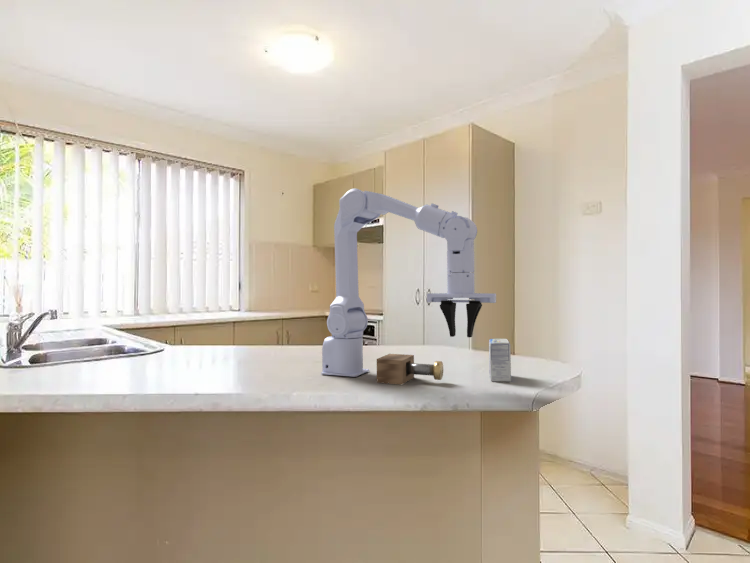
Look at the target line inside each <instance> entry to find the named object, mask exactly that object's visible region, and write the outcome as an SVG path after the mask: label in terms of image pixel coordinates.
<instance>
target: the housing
mask: <svg viewBox="0 0 750 563" xmlns="http://www.w3.org/2000/svg"><path fill="white" fill-rule="evenodd" d="M406 363H415V354H405V353H404V354H399V353H388V354H385V355H384V356H381V357H378V358H376V383H377V384H388V383H389V385H399V386H400V385H402V386H403V385H404V384H406V383H408V382H410V381H411V380H413V379H414V378H415V374H406ZM407 381H408V382H407Z"/></svg>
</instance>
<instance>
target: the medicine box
mask: <svg viewBox="0 0 750 563" xmlns="http://www.w3.org/2000/svg"><path fill="white" fill-rule="evenodd" d="M488 352H489V353H488V355H489V357H488V360H489V378H490V381H491V382H498V383H501V382H502V383H511V382H512V365H511V364H512V363H511V359H512V358H511V343H510V341H509V340H508V339H507V338H490V339H489V340H488Z"/></svg>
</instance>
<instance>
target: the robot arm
mask: <svg viewBox="0 0 750 563" xmlns="http://www.w3.org/2000/svg"><path fill="white" fill-rule="evenodd" d="M338 201H339V202H338V203H339V204H338V205H339V208H338V209H339V210H338V212H337V216H336V219H335V220H334V221H335V222H334V224H333V229H334V230H333V232H334V235H333V236H334V262H335V263H334V264H335V291H336V293H335V298H334V300H333V301H332V303H330V305H329V313H328V316H327V319H326V325H327V330H328V331H329V333H330V336H327V337H326V338H324V340H323V343H322V347H321V348H322V349H321V351H322V352H321V353H322V356H321V358H322V359H321V360H322V366H321V367H322V371H321V372H320V374H321V375H330V376H341V377H354V378H356V377H359V376H361V375H363V374H366V373H369V372H370V369H369V368H364V361H363V360H364V357H363V356H364V353H363V352H364V351H363V350H364V348H363V347H364V345H363V340H364V339H363V336H364V331H365V330H366V329H367V327H368V324H369V322H368V316H367V314H366V311H365V304H364V302H363V301H362V299H361V298H360V293H359V266H358V264H359V263H358V262H359V260H358V232H360V230H361V229H363V227H364V226H365V225H368V224H369V223H372V222H373V221H375V220H376V219H378V218H379V217H380V216H381V215H382V216H385V215H387V214H388V213H390V214H392V215H393V214H394V215H396V216H399V217H402V218H405V219H408V220H411V221H413V222H414V224H415V226H416V228H417V229H418V230H421V231H424V232H426V233H429V234H431V235H434V236H437V237H439V238H441V239H444V240H446V242H447V244H446V248H447V250H446V270H447V271H446V281H447V282H446V283H447V284H446V286H447V292H446V293H444V292H443V293H442V292H441V293H440V292H439V293H438V292H434V293H433V292H431V293H428V292H427V293H426V303H440V304H439V308H440V310H441V312H442V314H443V316H444V319H445V322H446V324H447V328H448V331H449V337H450V338H452V337H455V336H456V329H457V328H456V309H457V303H466V304H465V309H466V318H467V323H466V324H467V327H466V336H467V338H472V337H473V334H474V328H475V326H476V325H475V324H476V322H477V321H476V320H477V317H478V316H479V314H480V311H481V310H482V307H483V304H485V303H487V304H488V303H489V304H492V303H493V304H496V303H497V293H496V292H495V293H488V292H487V293H486V292H485V293H483V292H482V293H480V292H478V293H477V292H475V246H474V244H475V243H474V242H475V239H476V237H477V234H478V228H477V225H476V223H475V222H474V221H473V220H472V219H470V218H469V217H466V216H465V217H464V216H462V215H458V212H456V211H453V210H452V211H451V212H450V211H447V210H445V209H442V208H439V205H438V204H436V203H433V202H432V203H431V204H424V205H422V206H421V207H418V206H415V205H413V204H410V203H408V202H405V201H402V200H399V199H397V198H394V197H392V196H390V195H386V194H382V193H379V192H375V191H374V192H373V191H368V190H364V191H363V190H361V189H359V188H351V189H349V190H347V191H346V192H345V193H344V194H343V195H342V196H341V197H340V198H339V200H338ZM466 298H467V299H466Z"/></svg>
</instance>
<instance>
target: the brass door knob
mask: <svg viewBox="0 0 750 563" xmlns="http://www.w3.org/2000/svg"><path fill="white" fill-rule="evenodd" d="M406 374H414V375H415V376H416V375H419V376H429V377H430V376H431V377H433V378H434V380H435V381H436V380H437V381H441V380H443V376H444V363H443V361H441V360H435V361H434V363H433V364H429V363H428V364H427V363H415V362H414V363H406Z"/></svg>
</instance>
